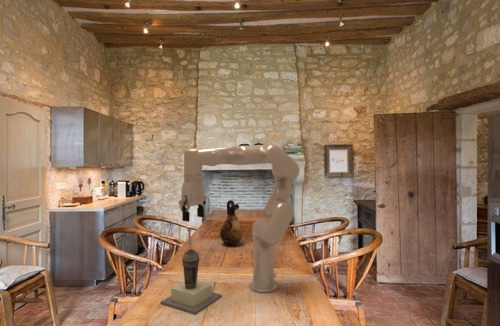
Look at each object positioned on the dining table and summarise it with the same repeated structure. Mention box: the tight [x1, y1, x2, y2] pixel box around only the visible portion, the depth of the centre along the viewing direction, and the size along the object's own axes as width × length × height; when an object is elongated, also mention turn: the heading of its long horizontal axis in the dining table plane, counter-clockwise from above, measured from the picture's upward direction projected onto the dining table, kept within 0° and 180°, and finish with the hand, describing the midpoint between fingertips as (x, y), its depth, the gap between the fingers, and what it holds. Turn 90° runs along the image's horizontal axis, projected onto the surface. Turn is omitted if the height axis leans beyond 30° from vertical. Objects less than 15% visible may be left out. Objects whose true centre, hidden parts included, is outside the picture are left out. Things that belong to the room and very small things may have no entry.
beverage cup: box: [181, 238, 201, 289], centre depth 136 cm, size 7×7×20 cm
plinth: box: [160, 280, 223, 315], centre depth 137 cm, size 18×18×6 cm
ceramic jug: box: [219, 199, 244, 248], centre depth 221 cm, size 17×15×30 cm
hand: (193, 218), depth 137 cm, fingers open, 9 cm apart
